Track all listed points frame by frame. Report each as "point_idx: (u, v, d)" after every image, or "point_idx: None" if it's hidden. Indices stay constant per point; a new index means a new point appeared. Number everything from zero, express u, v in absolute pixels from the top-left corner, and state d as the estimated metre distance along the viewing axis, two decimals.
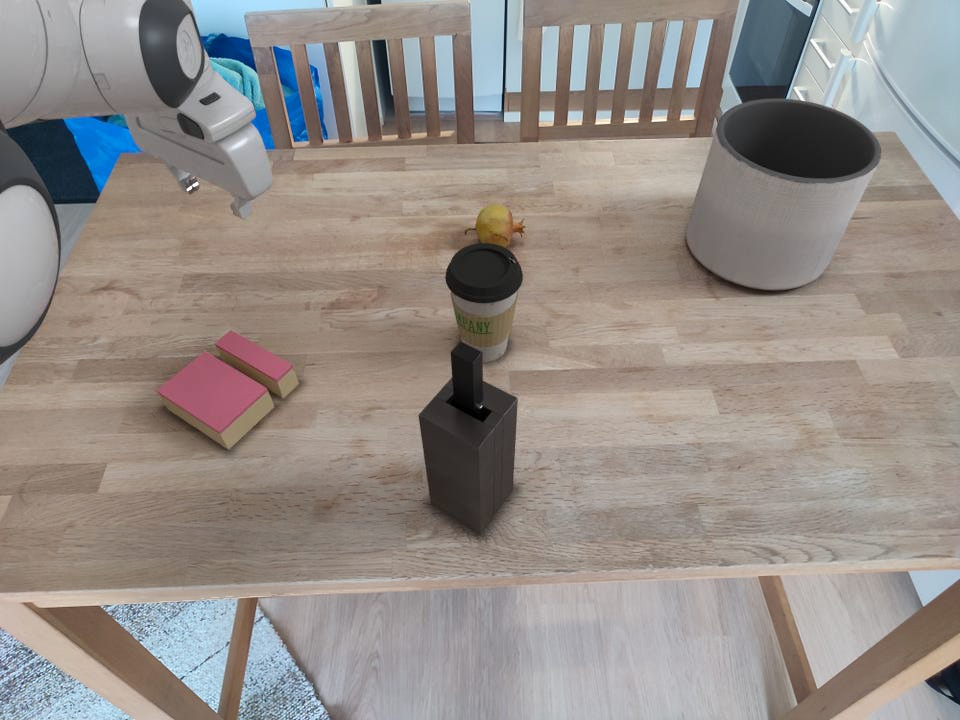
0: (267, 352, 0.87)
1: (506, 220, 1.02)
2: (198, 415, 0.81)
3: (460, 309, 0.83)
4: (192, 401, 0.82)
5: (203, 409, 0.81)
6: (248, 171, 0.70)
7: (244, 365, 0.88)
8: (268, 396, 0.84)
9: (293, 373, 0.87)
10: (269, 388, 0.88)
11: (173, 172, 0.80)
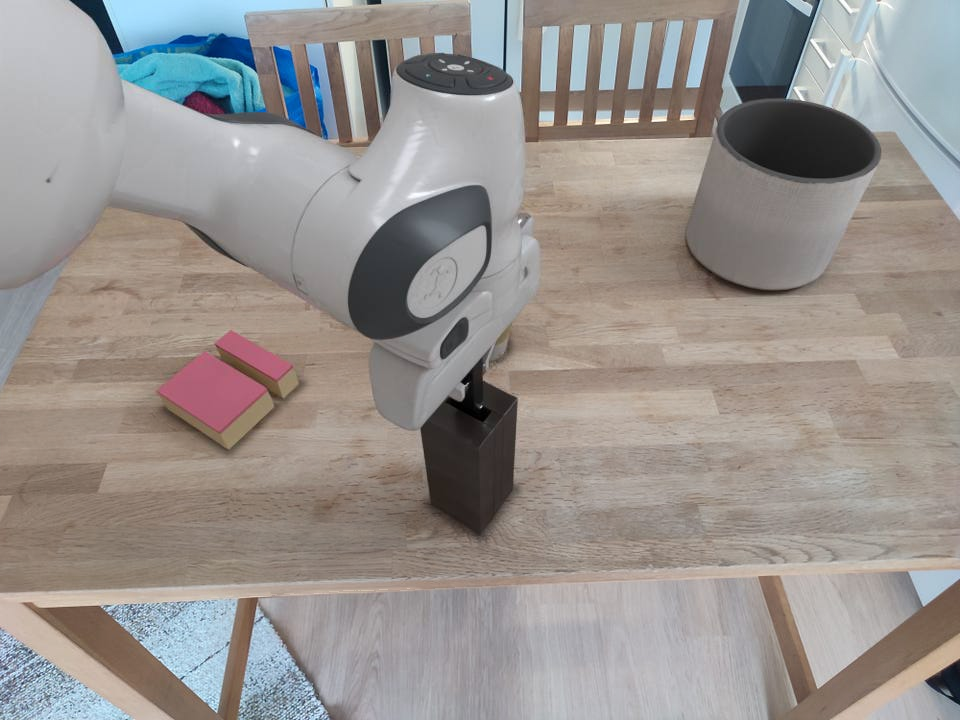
0: (267, 352, 0.87)
1: None
2: (198, 415, 0.81)
3: None
4: (192, 401, 0.82)
5: (203, 409, 0.81)
6: (381, 393, 0.50)
7: (244, 365, 0.88)
8: (268, 396, 0.84)
9: (293, 373, 0.87)
10: (269, 388, 0.88)
11: None
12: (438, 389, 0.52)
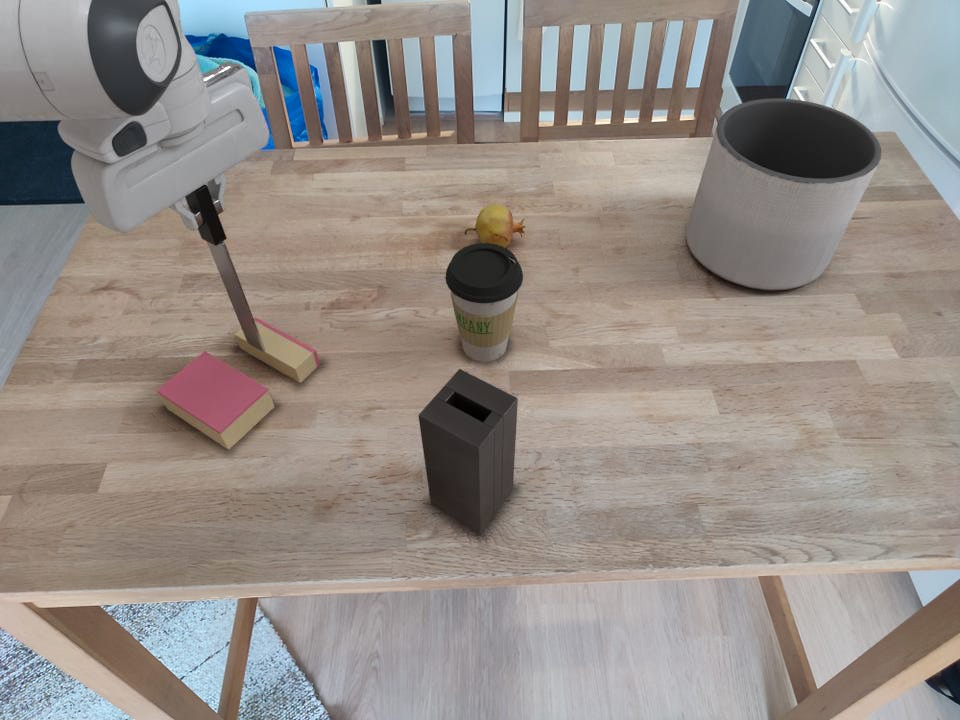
0: None
1: (506, 220, 1.02)
2: (198, 415, 0.81)
3: (460, 309, 0.83)
4: (192, 401, 0.82)
5: (203, 409, 0.81)
6: (86, 195, 0.60)
7: (276, 337, 0.90)
8: (268, 396, 0.84)
9: (312, 370, 0.90)
10: (284, 358, 0.88)
11: (208, 184, 0.71)
12: (142, 198, 0.62)
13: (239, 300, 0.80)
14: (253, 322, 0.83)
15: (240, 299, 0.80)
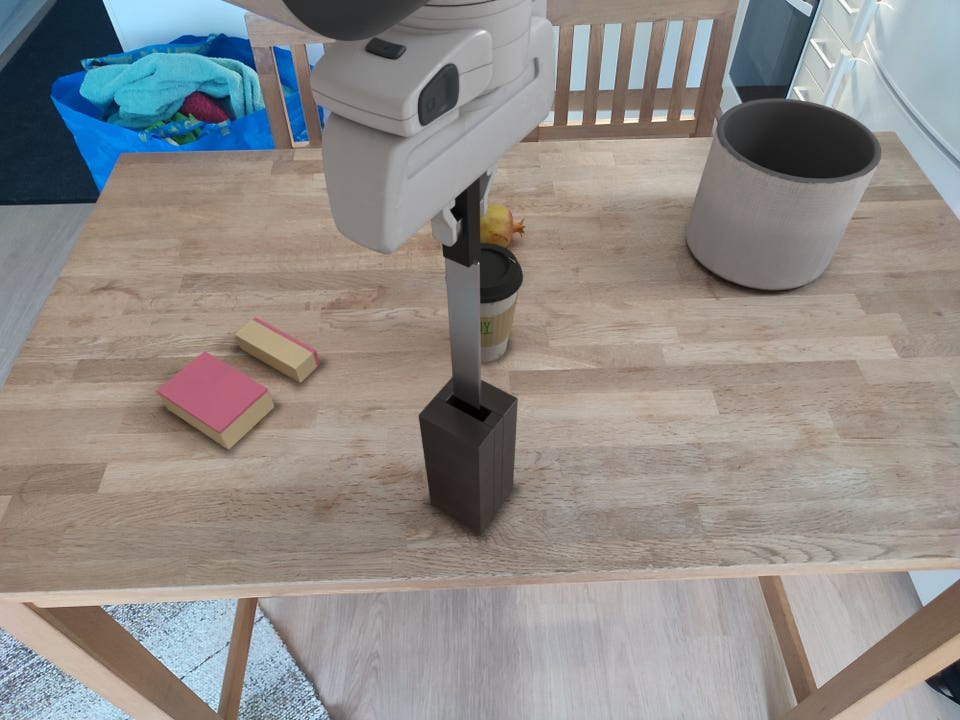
0: None
1: (506, 220, 1.02)
2: (198, 415, 0.81)
3: None
4: (192, 401, 0.82)
5: (203, 409, 0.81)
6: (339, 193, 0.36)
7: (276, 337, 0.90)
8: (268, 396, 0.84)
9: (312, 370, 0.90)
10: (284, 358, 0.88)
11: None
12: (419, 197, 0.38)
13: (469, 342, 0.56)
14: (479, 371, 0.58)
15: (471, 341, 0.56)
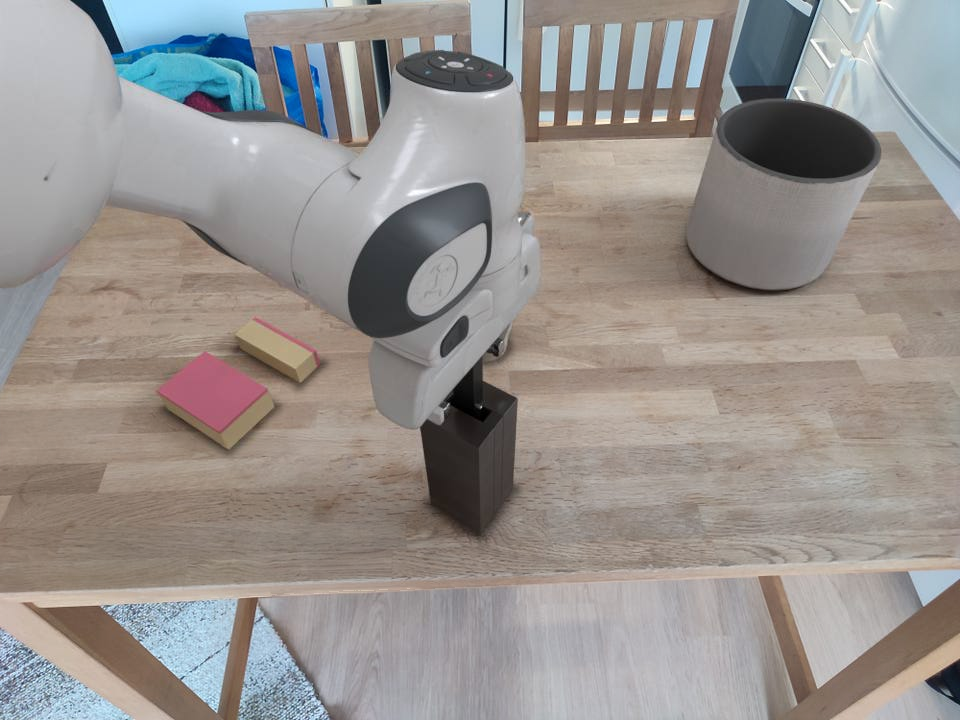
0: None
1: None
2: (198, 415, 0.81)
3: None
4: (192, 401, 0.82)
5: (203, 409, 0.81)
6: (381, 392, 0.50)
7: (276, 337, 0.90)
8: (268, 396, 0.84)
9: (312, 370, 0.90)
10: (284, 358, 0.88)
11: None
12: (438, 388, 0.51)
13: None
14: None
15: None
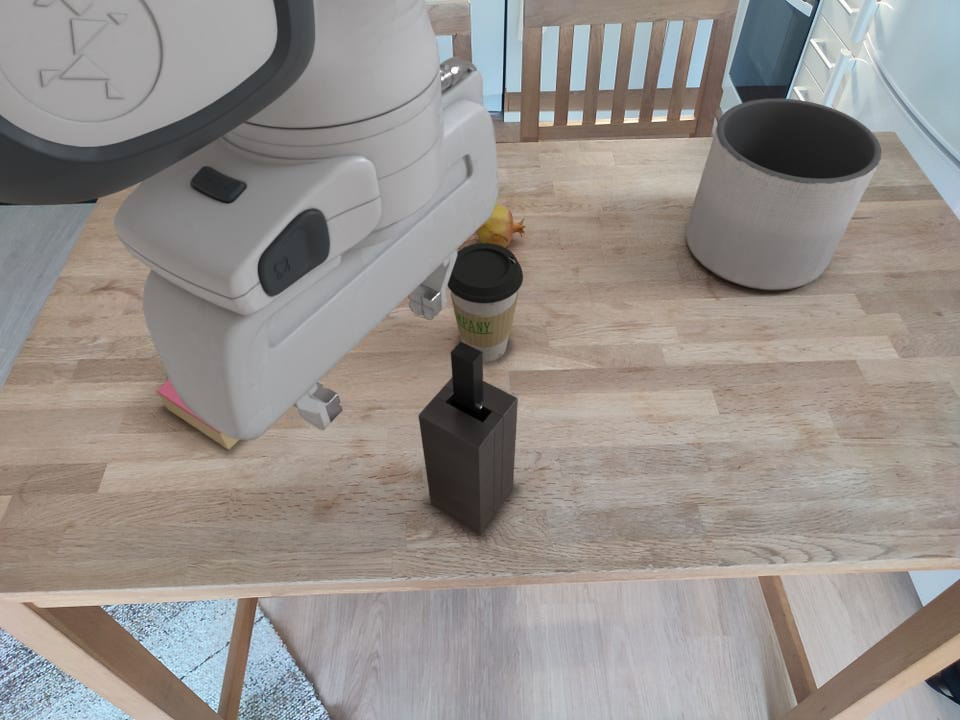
0: None
1: (506, 220, 1.02)
2: None
3: (460, 309, 0.83)
4: None
5: None
6: (174, 369, 0.26)
7: None
8: None
9: None
10: None
11: None
12: (295, 363, 0.28)
13: None
14: None
15: None
